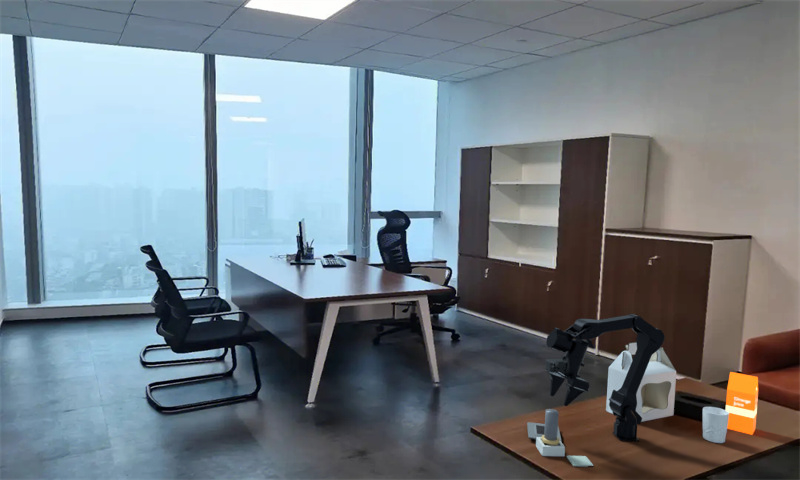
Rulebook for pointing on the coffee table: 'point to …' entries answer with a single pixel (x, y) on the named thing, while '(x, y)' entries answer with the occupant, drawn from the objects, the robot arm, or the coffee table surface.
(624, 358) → the gable box
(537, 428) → the electrical outlet
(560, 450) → the frame
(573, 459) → the rubber pad
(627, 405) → the robot arm
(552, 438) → the grey tapered rounded cylinder
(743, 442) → the coffee table surface
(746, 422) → the orange juice
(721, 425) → the white cup
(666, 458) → the coffee table surface
